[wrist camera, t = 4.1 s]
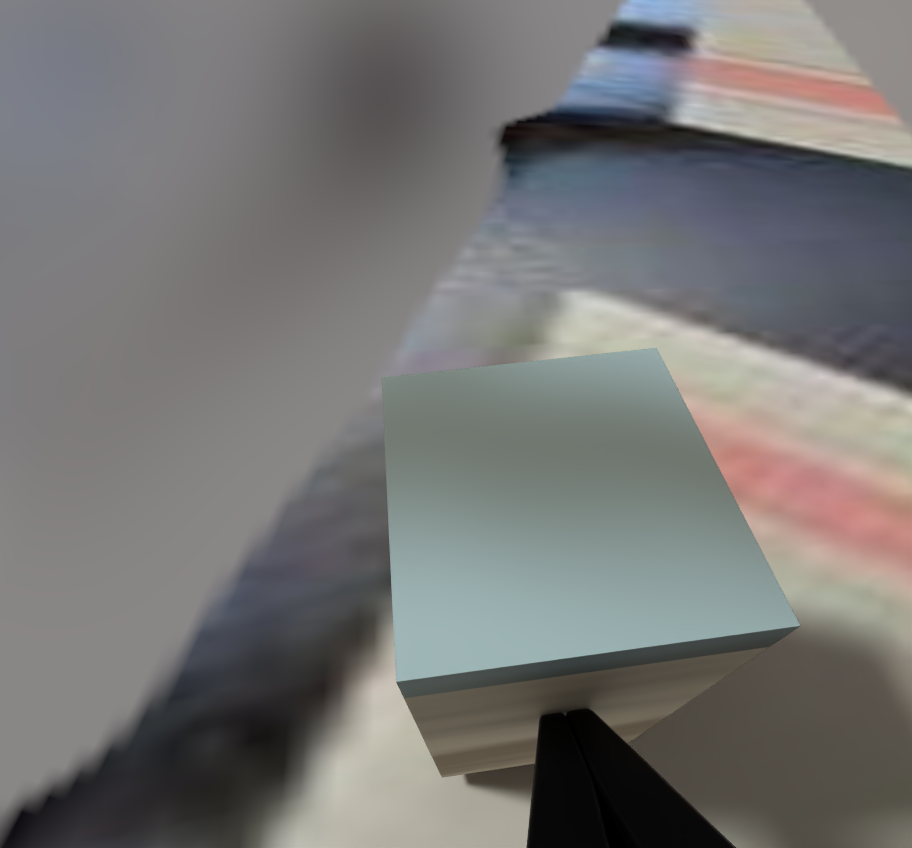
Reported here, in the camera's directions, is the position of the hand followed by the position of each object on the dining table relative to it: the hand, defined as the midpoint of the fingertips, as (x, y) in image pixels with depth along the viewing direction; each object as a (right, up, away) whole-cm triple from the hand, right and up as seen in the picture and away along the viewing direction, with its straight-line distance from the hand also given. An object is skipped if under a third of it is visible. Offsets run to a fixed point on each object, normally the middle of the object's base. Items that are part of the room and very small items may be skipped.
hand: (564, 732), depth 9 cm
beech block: (0, -2, +6) cm, 7 cm away
